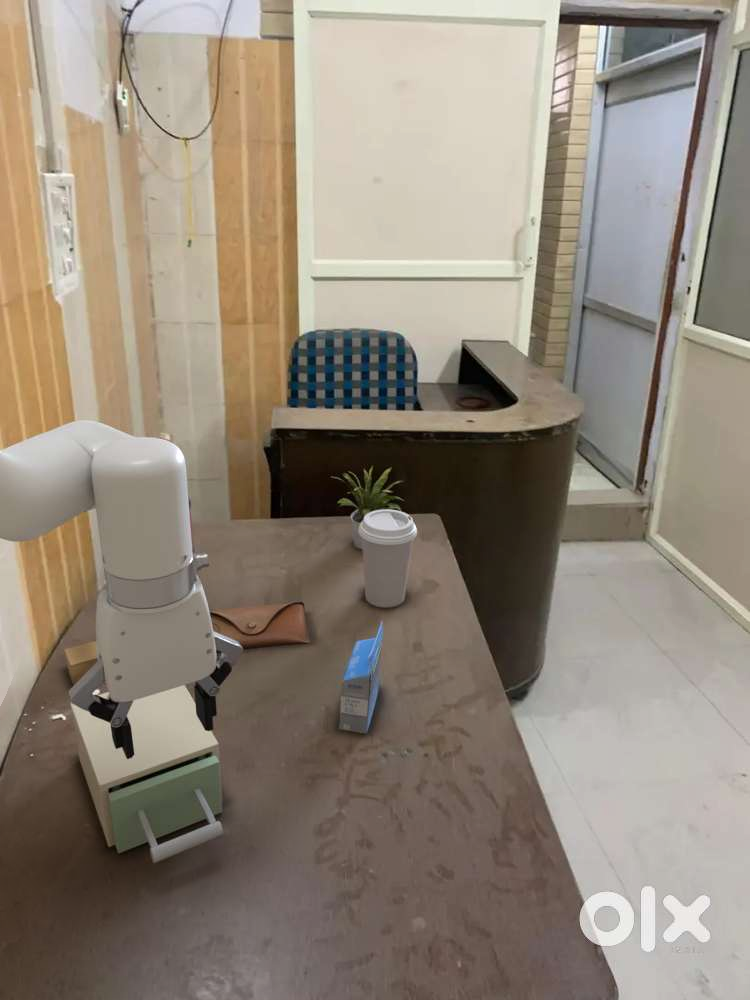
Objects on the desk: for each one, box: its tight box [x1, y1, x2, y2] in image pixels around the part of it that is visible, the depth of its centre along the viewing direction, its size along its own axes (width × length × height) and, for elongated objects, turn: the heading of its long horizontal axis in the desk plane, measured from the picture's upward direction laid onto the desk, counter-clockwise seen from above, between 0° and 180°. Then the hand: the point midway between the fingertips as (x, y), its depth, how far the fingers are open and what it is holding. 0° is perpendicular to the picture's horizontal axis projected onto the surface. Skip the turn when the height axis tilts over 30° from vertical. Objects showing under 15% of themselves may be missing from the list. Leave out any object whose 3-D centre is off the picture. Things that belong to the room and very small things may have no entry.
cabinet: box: [70, 685, 223, 848], centre depth 87 cm, size 15×13×9 cm
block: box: [64, 640, 98, 687], centre depth 106 cm, size 4×4×4 cm
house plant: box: [332, 465, 405, 550], centre depth 142 cm, size 14×14×16 cm
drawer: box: [108, 754, 224, 864], centre depth 83 cm, size 20×11×7 cm, turn 31°
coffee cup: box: [358, 509, 418, 608], centre depth 125 cm, size 10×10×15 cm
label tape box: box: [338, 620, 384, 734], centre depth 99 cm, size 9×4×12 cm, turn 170°
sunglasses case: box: [209, 601, 311, 654], centre depth 117 cm, size 18×7×7 cm
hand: (166, 734), depth 74 cm, fingers open, 7 cm apart
